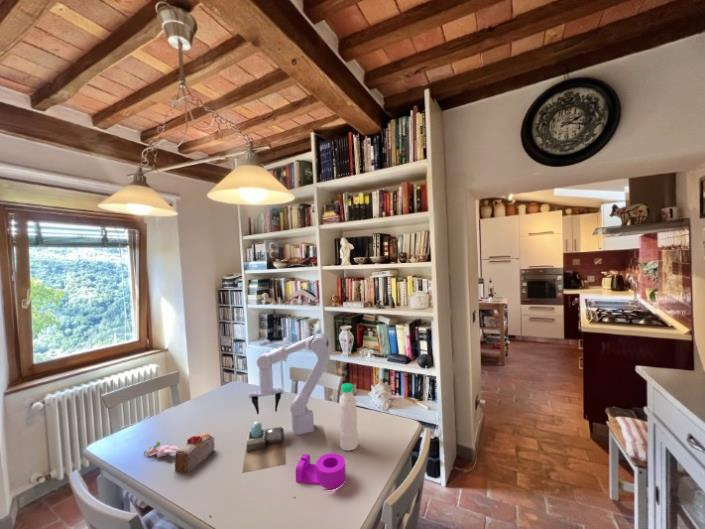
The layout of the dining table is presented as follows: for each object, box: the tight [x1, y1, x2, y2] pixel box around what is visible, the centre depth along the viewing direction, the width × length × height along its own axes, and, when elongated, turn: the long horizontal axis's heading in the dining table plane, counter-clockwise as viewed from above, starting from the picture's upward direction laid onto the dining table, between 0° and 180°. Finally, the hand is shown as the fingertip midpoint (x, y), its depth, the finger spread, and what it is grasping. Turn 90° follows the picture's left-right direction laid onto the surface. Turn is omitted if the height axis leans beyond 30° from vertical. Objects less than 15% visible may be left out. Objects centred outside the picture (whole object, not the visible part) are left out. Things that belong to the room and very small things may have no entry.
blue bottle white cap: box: [250, 421, 263, 439], centre depth 119 cm, size 4×4×6 cm
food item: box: [174, 432, 216, 473], centre depth 112 cm, size 14×8×10 cm, turn 169°
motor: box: [246, 426, 285, 452], centre depth 120 cm, size 14×7×6 cm, turn 105°
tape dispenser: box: [295, 452, 347, 490], centre depth 101 cm, size 16×10×6 cm, turn 78°
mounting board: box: [242, 437, 287, 474], centre depth 115 cm, size 15×20×1 cm
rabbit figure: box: [143, 440, 180, 458], centre depth 117 cm, size 6×6×15 cm
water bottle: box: [338, 382, 359, 451], centre depth 119 cm, size 7×7×25 cm
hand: (267, 411), depth 130 cm, fingers open, 7 cm apart
